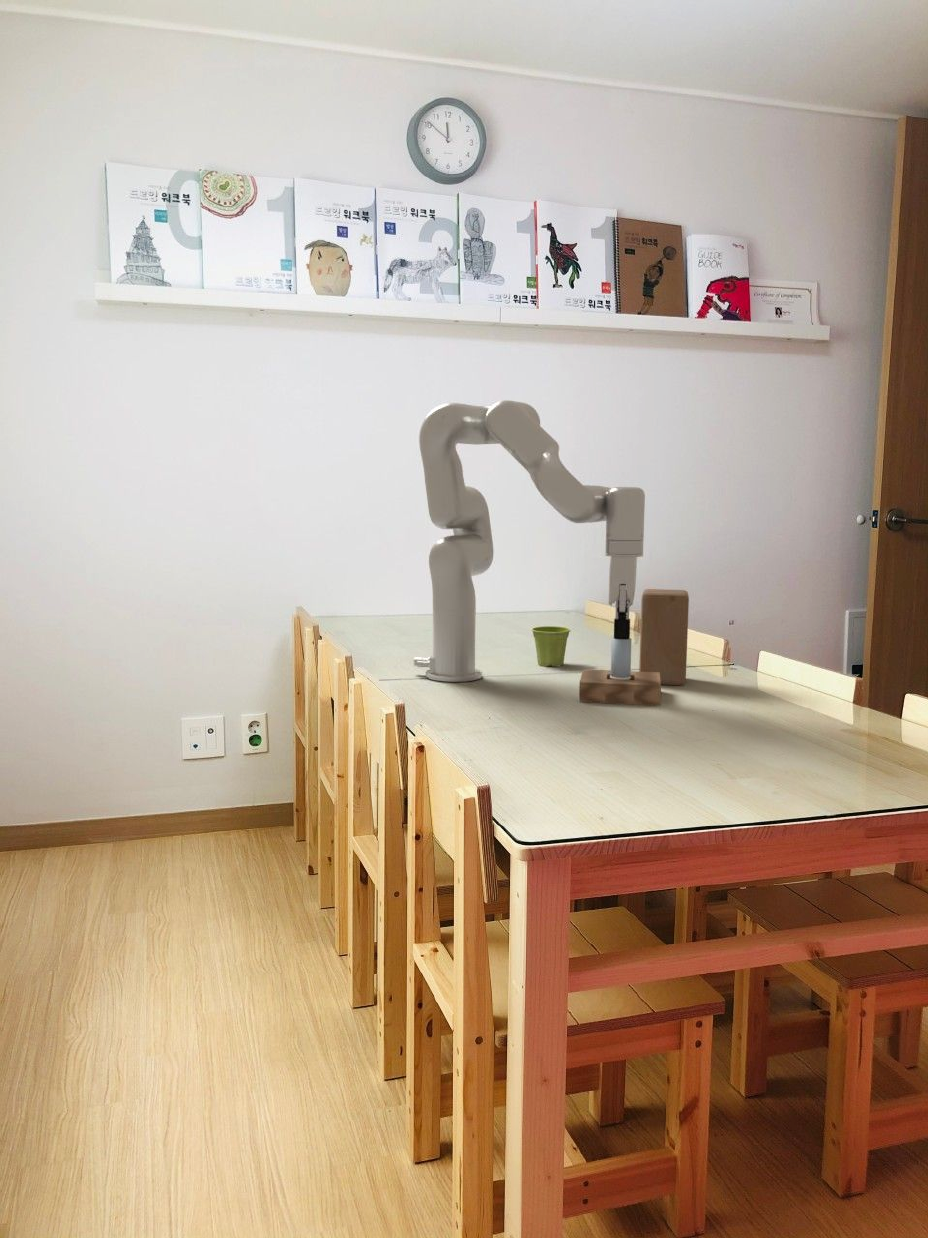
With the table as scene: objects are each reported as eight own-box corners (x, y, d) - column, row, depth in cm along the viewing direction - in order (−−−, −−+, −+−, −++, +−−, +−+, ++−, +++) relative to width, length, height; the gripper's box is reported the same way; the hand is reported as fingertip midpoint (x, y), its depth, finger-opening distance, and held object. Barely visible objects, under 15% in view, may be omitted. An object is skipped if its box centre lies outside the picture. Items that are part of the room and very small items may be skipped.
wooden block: (685, 686, 219) (689, 594, 216) (638, 684, 221) (641, 593, 218) (685, 677, 229) (688, 589, 226) (640, 675, 231) (642, 588, 228)
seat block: (579, 702, 203) (579, 682, 203) (582, 687, 217) (583, 669, 216) (660, 705, 200) (661, 685, 200) (658, 690, 214) (659, 672, 214)
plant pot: (551, 669, 237) (551, 633, 236) (522, 664, 244) (523, 628, 243) (578, 665, 243) (578, 629, 242) (549, 659, 250) (550, 624, 249)
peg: (609, 698, 207) (610, 640, 205) (609, 693, 211) (611, 636, 209) (630, 699, 206) (631, 640, 205) (630, 694, 210) (632, 637, 209)
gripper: (606, 545, 212) (604, 632, 215) (604, 550, 198) (601, 643, 200) (642, 546, 211) (640, 633, 214) (643, 551, 197) (640, 645, 199)
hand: (621, 638), depth 207 cm, fingers closed
